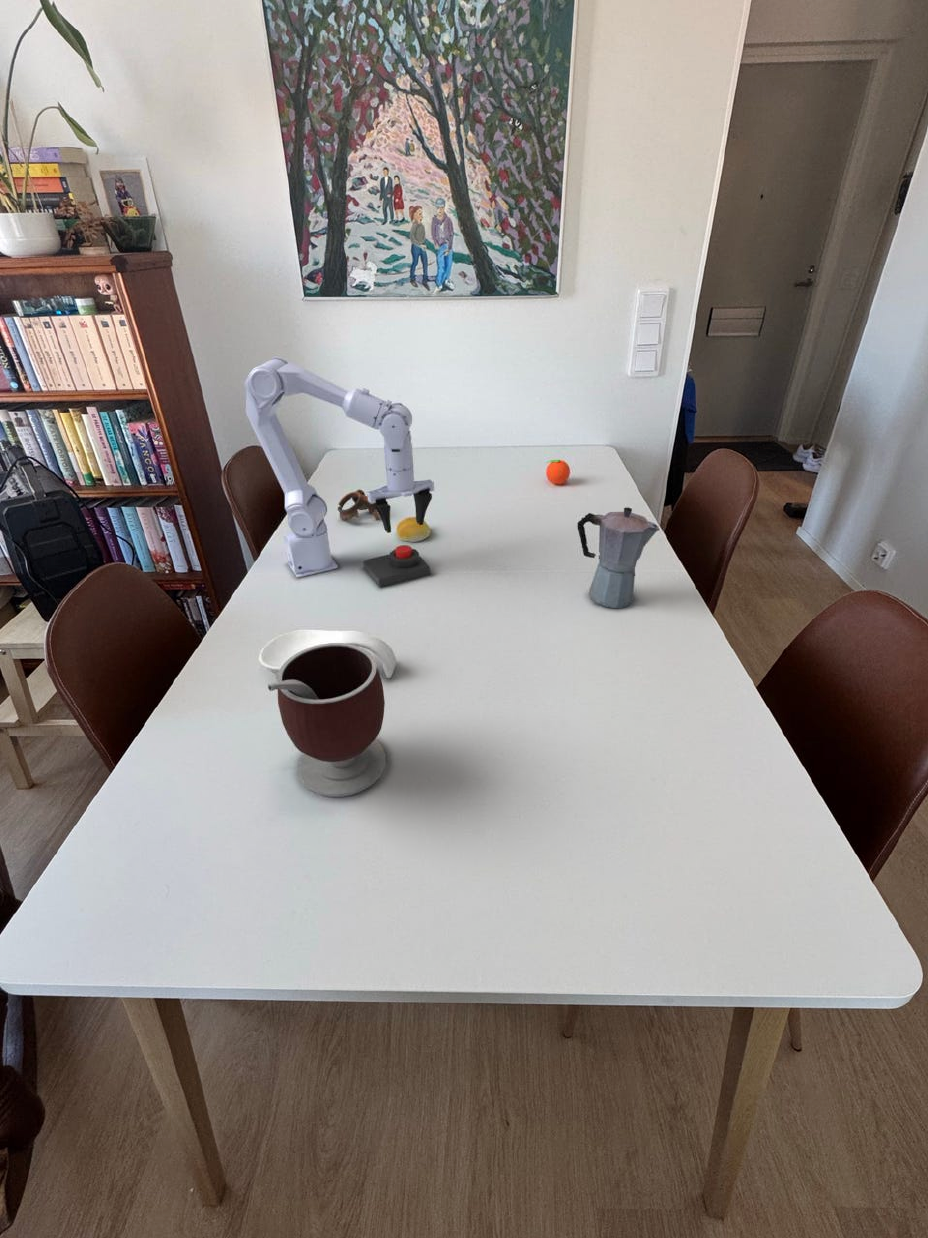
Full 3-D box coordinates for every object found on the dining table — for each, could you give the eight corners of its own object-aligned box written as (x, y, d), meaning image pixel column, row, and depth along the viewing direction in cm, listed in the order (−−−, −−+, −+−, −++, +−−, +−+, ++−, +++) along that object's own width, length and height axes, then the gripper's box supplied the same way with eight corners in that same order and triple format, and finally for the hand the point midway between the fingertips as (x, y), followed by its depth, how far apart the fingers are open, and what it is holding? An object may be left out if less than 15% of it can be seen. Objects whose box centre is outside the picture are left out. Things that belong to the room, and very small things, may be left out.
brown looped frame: (381, 525, 163) (364, 503, 157) (351, 540, 165) (332, 519, 159) (380, 497, 171) (364, 475, 165) (351, 512, 173) (334, 491, 167)
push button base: (379, 588, 134) (378, 572, 132) (363, 569, 142) (362, 553, 140) (430, 575, 139) (429, 559, 137) (412, 557, 146) (411, 541, 144)
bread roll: (401, 545, 152) (399, 530, 150) (394, 530, 159) (393, 515, 157) (434, 540, 154) (433, 525, 151) (426, 526, 161) (425, 511, 159)
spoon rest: (252, 684, 107) (243, 650, 103) (277, 645, 117) (270, 612, 113) (387, 692, 105) (383, 657, 101) (401, 651, 115) (398, 618, 111)
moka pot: (648, 613, 124) (664, 520, 113) (569, 606, 127) (577, 514, 116) (646, 589, 132) (661, 500, 121) (572, 583, 135) (580, 495, 124)
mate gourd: (347, 719, 99) (330, 612, 89) (410, 758, 92) (401, 647, 81) (265, 776, 89) (235, 664, 79) (329, 826, 82) (305, 709, 71)
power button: (399, 560, 137) (399, 553, 136) (393, 554, 140) (392, 547, 139) (414, 557, 138) (414, 549, 138) (408, 550, 141) (407, 543, 140)
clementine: (539, 486, 183) (541, 462, 179) (544, 478, 189) (545, 454, 185) (567, 488, 181) (568, 464, 177) (570, 480, 187) (572, 456, 183)
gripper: (373, 478, 124) (379, 541, 131) (439, 466, 129) (441, 526, 137) (361, 468, 129) (367, 529, 136) (425, 456, 135) (428, 515, 142)
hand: (404, 527), depth 137 cm, fingers open, 7 cm apart
